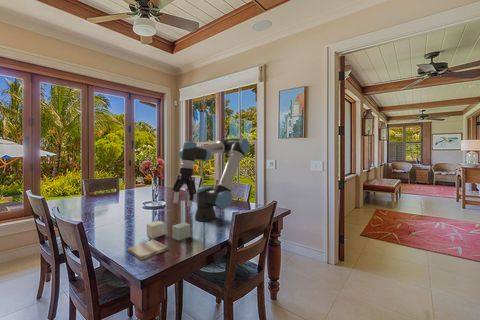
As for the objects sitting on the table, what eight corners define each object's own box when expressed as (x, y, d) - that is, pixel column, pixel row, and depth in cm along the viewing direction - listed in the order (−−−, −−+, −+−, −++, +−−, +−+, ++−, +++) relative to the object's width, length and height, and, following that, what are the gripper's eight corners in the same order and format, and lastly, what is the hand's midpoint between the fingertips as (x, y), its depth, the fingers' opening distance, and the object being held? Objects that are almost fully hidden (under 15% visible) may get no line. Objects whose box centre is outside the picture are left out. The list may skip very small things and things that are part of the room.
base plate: (154, 242, 125) (154, 239, 125) (168, 249, 116) (168, 246, 115) (127, 251, 114) (127, 248, 114) (140, 260, 105) (140, 256, 105)
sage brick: (184, 234, 137) (184, 222, 137) (190, 236, 133) (190, 224, 133) (172, 238, 131) (172, 225, 131) (178, 240, 127) (178, 228, 127)
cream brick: (159, 232, 140) (159, 220, 140) (164, 234, 136) (164, 222, 136) (146, 235, 134) (146, 224, 134) (152, 238, 130) (151, 226, 130)
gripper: (169, 166, 141) (164, 201, 139) (194, 168, 124) (189, 208, 122) (180, 167, 146) (175, 201, 144) (205, 169, 130) (200, 207, 128)
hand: (182, 204), depth 133 cm, fingers open, 13 cm apart
